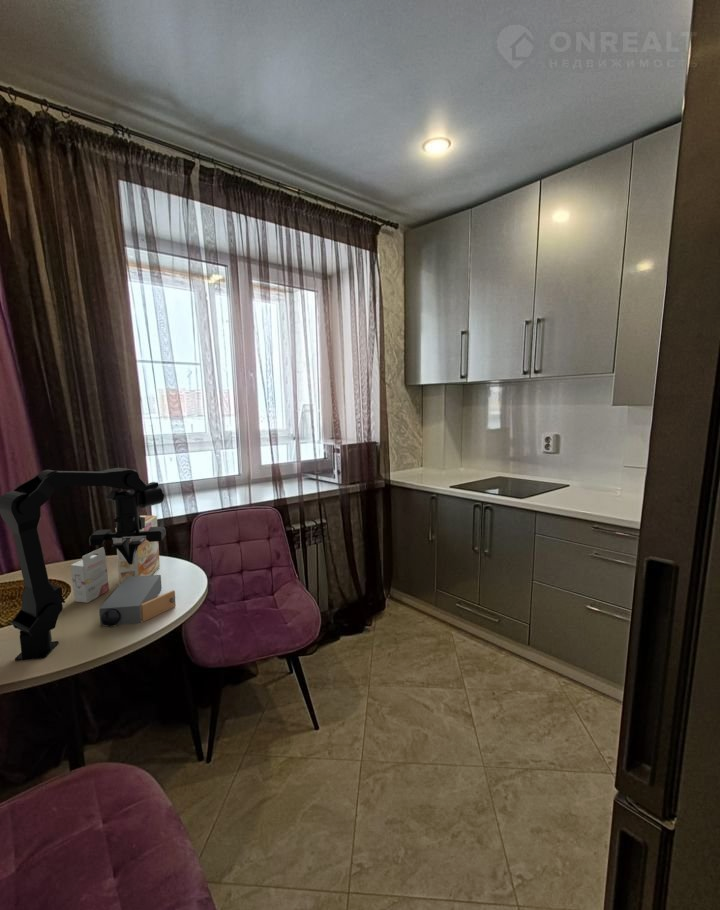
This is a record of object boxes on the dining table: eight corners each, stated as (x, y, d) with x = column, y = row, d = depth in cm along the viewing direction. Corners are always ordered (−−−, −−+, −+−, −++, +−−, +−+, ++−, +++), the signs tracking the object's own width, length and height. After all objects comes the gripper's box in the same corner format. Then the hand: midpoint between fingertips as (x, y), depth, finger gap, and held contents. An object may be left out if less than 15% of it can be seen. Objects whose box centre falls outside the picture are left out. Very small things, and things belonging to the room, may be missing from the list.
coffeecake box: (140, 585, 136) (136, 528, 133) (118, 585, 136) (113, 528, 133) (161, 567, 151) (157, 515, 148) (141, 567, 151) (137, 514, 148)
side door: (145, 622, 114) (144, 605, 113) (141, 620, 115) (140, 604, 114) (177, 606, 122) (176, 591, 122) (173, 605, 123) (172, 590, 122)
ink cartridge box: (96, 588, 134) (92, 545, 132) (109, 590, 133) (106, 546, 131) (73, 601, 125) (68, 555, 123) (87, 603, 124) (82, 556, 122)
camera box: (138, 625, 113) (137, 607, 112) (98, 628, 111) (97, 610, 110) (161, 589, 133) (160, 574, 133) (128, 591, 132) (126, 576, 131)
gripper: (168, 502, 128) (172, 551, 130) (101, 506, 124) (106, 555, 127) (159, 513, 117) (162, 565, 120) (85, 516, 114) (91, 571, 116)
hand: (131, 563), depth 121 cm, fingers closed
